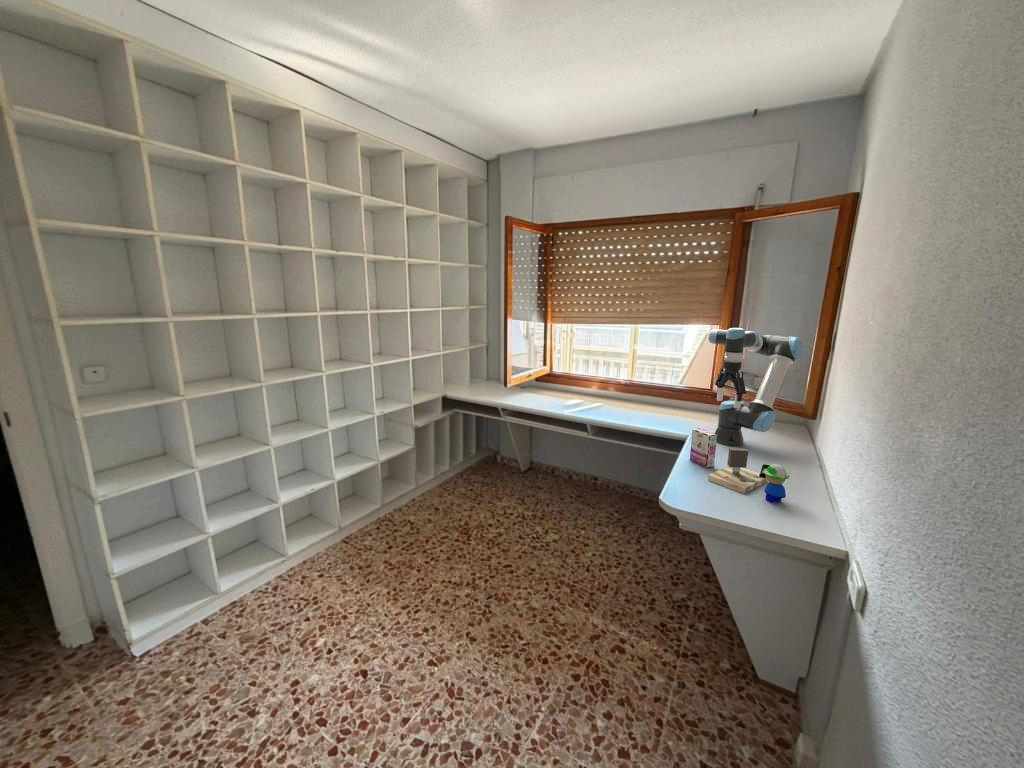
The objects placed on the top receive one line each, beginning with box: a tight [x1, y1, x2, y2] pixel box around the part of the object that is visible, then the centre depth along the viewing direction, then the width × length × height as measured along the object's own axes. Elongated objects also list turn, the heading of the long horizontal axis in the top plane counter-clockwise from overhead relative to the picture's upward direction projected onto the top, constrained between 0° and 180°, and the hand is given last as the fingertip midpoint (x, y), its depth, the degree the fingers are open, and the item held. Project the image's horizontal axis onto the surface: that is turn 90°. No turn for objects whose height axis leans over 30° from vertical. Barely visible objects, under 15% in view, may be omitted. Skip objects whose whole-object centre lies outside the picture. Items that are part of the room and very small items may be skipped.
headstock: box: [707, 465, 769, 494], centre depth 182 cm, size 20×16×3 cm
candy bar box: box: [689, 427, 717, 469], centre depth 199 cm, size 11×5×16 cm, turn 21°
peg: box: [726, 447, 749, 481], centre depth 179 cm, size 11×7×11 cm, turn 171°
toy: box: [759, 463, 790, 503], centre depth 164 cm, size 9×9×15 cm
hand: (728, 404), depth 200 cm, fingers open, 13 cm apart
